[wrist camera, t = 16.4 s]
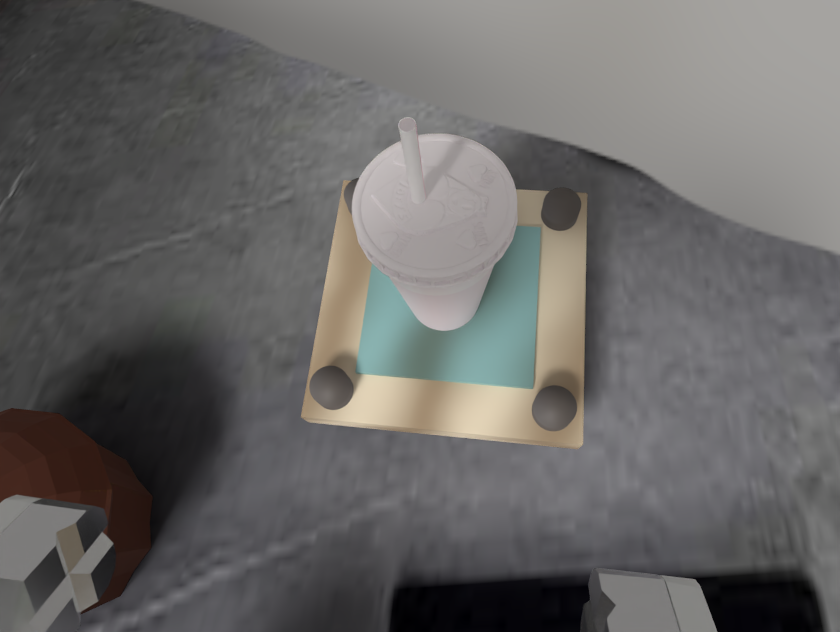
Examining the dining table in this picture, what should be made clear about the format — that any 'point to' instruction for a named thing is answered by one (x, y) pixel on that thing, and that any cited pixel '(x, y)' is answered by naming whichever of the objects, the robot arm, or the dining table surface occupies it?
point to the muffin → (76, 482)
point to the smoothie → (436, 221)
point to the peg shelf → (461, 339)
